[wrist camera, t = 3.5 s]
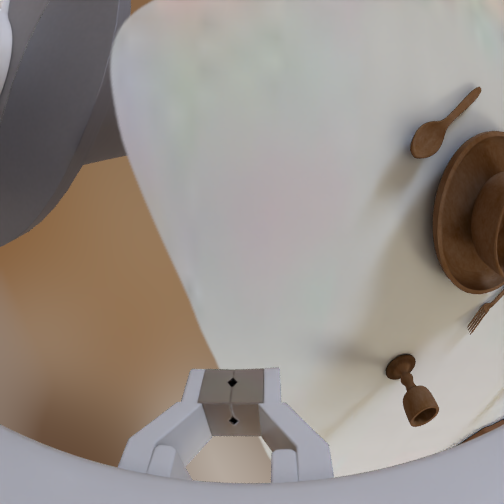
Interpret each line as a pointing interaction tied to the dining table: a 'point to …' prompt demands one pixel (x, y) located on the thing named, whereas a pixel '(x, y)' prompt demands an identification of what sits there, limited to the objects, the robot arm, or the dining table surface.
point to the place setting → (461, 232)
